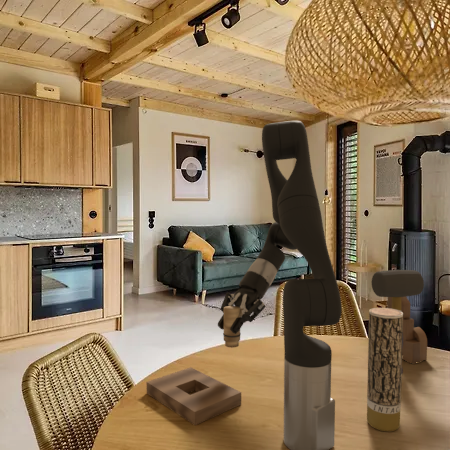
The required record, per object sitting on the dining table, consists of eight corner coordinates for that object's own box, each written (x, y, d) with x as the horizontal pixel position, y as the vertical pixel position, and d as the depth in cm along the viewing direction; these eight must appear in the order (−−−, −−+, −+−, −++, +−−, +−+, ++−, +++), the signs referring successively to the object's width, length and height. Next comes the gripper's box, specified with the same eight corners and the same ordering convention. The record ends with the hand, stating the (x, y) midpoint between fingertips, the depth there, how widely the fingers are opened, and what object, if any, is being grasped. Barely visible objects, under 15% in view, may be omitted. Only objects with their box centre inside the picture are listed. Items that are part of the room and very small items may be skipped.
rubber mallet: (406, 369, 120) (409, 267, 118) (423, 380, 113) (426, 271, 111) (367, 373, 117) (369, 268, 116) (382, 384, 110) (385, 272, 108)
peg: (244, 345, 110) (244, 308, 109) (231, 349, 106) (231, 310, 106) (232, 341, 113) (232, 305, 113) (219, 345, 110) (219, 307, 110)
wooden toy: (428, 361, 127) (430, 280, 125) (412, 364, 124) (414, 281, 122) (389, 345, 141) (391, 272, 139) (374, 347, 138) (375, 273, 136)
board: (241, 404, 99) (241, 392, 99) (194, 425, 90) (194, 411, 90) (190, 377, 114) (190, 367, 114) (146, 393, 105) (146, 381, 104)
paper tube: (361, 417, 93) (364, 307, 92) (390, 416, 94) (393, 307, 92) (374, 433, 87) (377, 316, 85) (406, 432, 87) (409, 315, 86)
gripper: (234, 267, 119) (201, 316, 112) (271, 273, 109) (237, 327, 101) (247, 283, 123) (216, 331, 115) (284, 290, 112) (252, 344, 105)
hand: (226, 329), depth 108 cm, fingers closed on peg, 4 cm apart
